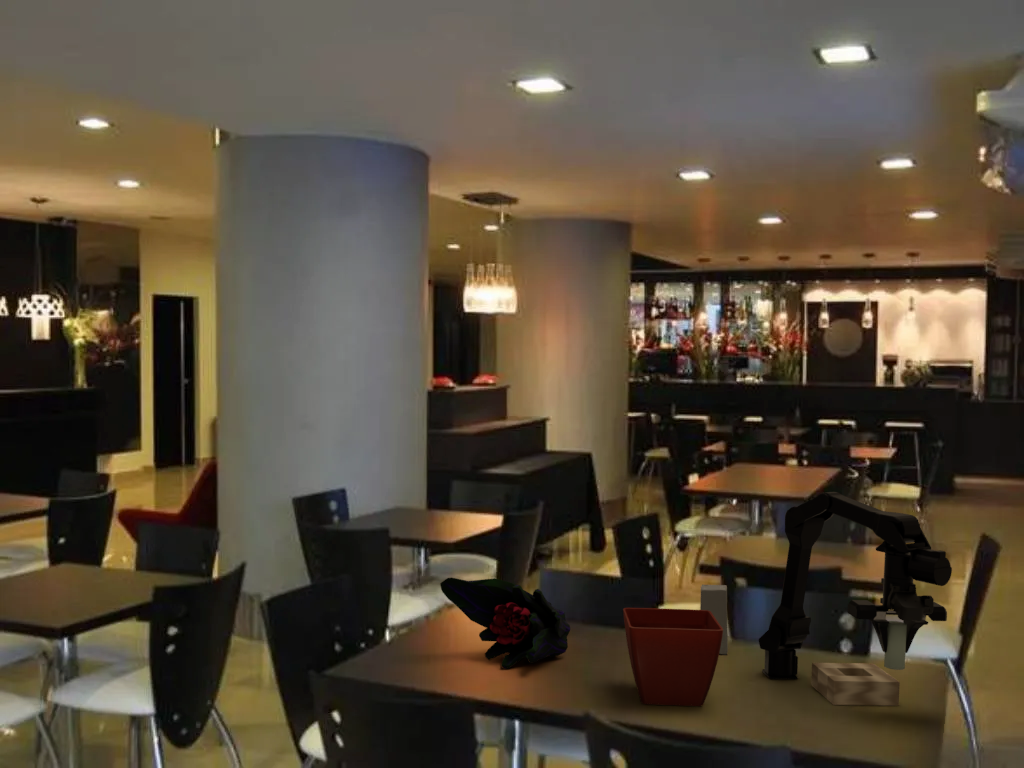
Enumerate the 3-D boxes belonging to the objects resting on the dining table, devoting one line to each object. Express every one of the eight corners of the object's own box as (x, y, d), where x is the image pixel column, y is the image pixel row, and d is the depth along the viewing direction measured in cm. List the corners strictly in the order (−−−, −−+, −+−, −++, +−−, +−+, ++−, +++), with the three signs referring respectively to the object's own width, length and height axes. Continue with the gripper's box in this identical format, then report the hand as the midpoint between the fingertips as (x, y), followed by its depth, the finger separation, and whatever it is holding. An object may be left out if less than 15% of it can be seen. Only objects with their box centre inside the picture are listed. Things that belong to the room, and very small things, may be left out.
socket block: (833, 704, 229) (834, 680, 229) (811, 685, 243) (812, 662, 243) (898, 705, 230) (899, 681, 230) (872, 685, 244) (873, 663, 244)
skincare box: (727, 655, 267) (729, 590, 266) (697, 653, 268) (700, 588, 268) (727, 647, 275) (730, 584, 275) (698, 644, 276) (701, 582, 276)
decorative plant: (562, 700, 258) (478, 691, 236) (497, 636, 275) (413, 622, 254) (606, 626, 255) (525, 610, 234) (538, 566, 273) (457, 546, 251)
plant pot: (620, 682, 241) (622, 606, 241) (707, 685, 241) (710, 609, 240) (626, 709, 222) (629, 626, 222) (721, 713, 222) (724, 630, 221)
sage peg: (888, 669, 222) (890, 625, 222) (881, 664, 226) (883, 620, 226) (907, 670, 223) (910, 626, 222) (899, 664, 227) (902, 621, 226)
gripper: (868, 583, 215) (865, 662, 216) (961, 586, 216) (957, 664, 217) (848, 572, 227) (844, 647, 227) (936, 574, 228) (932, 649, 228)
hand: (894, 652), depth 224 cm, fingers closed on sage peg, 4 cm apart
